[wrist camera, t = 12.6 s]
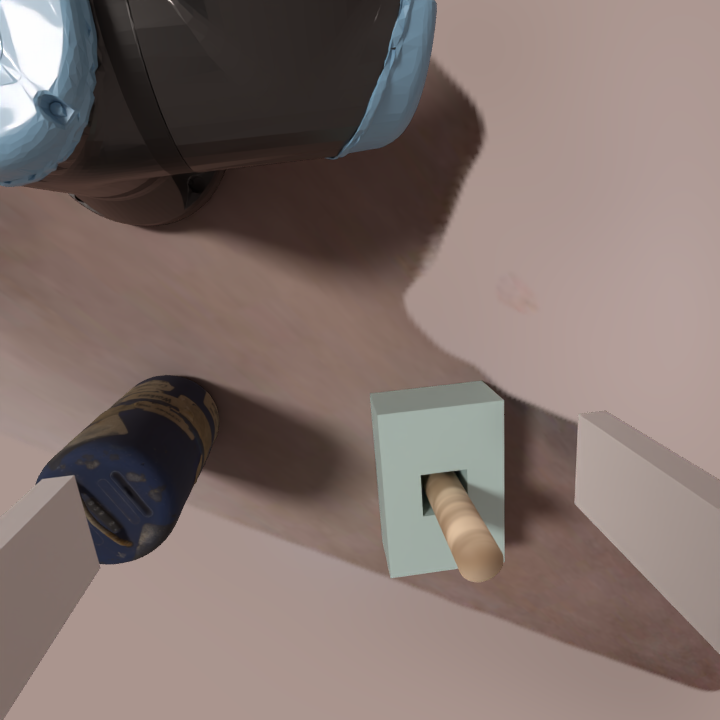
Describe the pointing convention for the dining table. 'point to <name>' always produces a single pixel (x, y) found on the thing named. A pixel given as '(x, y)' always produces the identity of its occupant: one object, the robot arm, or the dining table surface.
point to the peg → (463, 527)
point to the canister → (139, 464)
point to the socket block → (435, 467)
